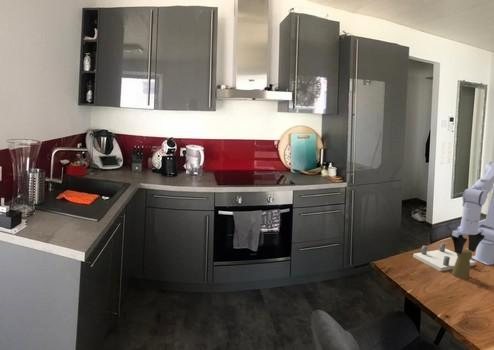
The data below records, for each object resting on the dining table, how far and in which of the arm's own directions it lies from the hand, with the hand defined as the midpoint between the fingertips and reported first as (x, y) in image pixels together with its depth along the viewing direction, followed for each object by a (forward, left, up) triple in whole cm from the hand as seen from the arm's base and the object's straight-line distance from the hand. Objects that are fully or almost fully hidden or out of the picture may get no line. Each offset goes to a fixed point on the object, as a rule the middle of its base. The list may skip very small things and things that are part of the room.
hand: (464, 251), depth 130 cm
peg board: (-5, -12, -10) cm, 16 cm away
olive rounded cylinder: (0, 0, -10) cm, 10 cm away
